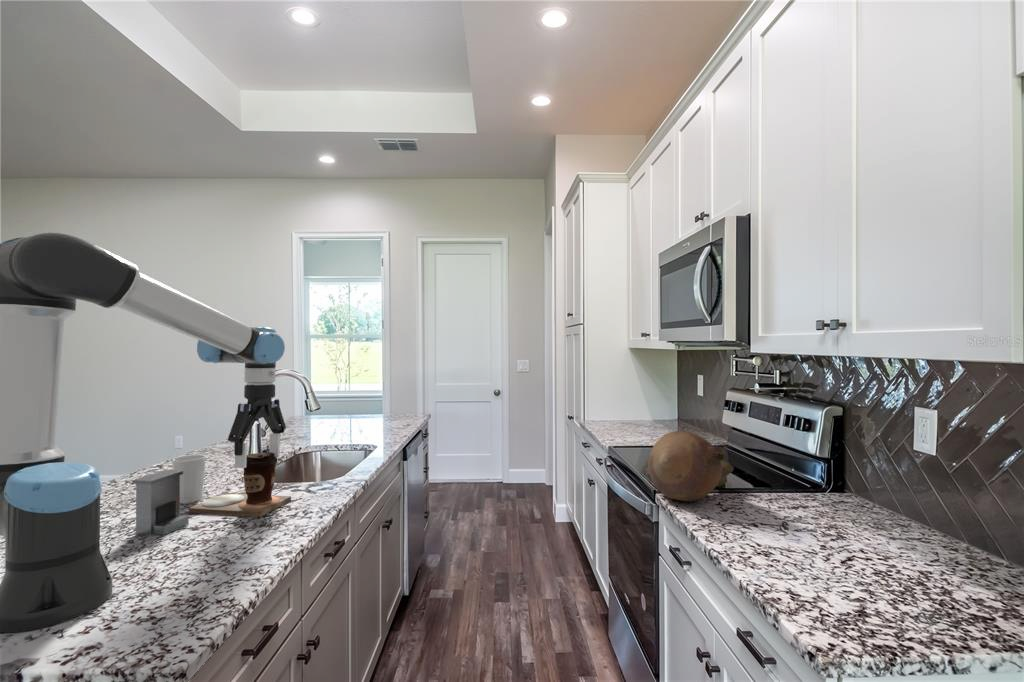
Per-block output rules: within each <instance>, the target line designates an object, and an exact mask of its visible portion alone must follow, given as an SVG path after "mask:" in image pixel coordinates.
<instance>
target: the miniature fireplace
mask: <svg viewBox="0 0 1024 682" xmlns="http://www.w3.org/2000/svg"><path fill="white" fill-rule="evenodd" d="M182 474H183V471H174V470H171V469H170V470H168V469H166V470H162V471H159V472H155V473H151V474H148V475H145V476H142V477H139V478H135V479H132V485H133V484H134V485H135V509H136V510H135V534H136V535H140V534H142V535H144V536H152V534H153V535H155V534H157V535H158V536H165V535H167V533H168V534H170V533H172V532H174V531H177V530H178V528H179V529H181V528H183V527H184V526H188V525H189V521H190V520H189V515H183V514H182V515H180V504H181V503H180V475H182ZM169 532H170V533H169ZM157 535H156V536H157Z"/></svg>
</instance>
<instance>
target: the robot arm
mask: <svg viewBox="0 0 1024 682" xmlns="http://www.w3.org/2000/svg"><path fill="white" fill-rule="evenodd" d="M77 300H80V301H85V302H87V303H92V304H94V305H98V306H100V307H102V308H105V309H111V308H115V307H117V308H120V309H123V310H124V311H127V312H129V313H132V314H135V315H136V316H139V317H141V318H144V319H147V320H149V321H150V322H151V321H152V322H153V323H156V324H158V325H161V326H163V327H165V328H169V329H171V330H173V331H176V332H178V333H181V334H183V335H185V336H188V337H190V338H193V339H195V340H197V343H196V344H197V345H196V352H197V355H198V357H199V359H200V360H201V361H202V362H204V363H211V364H212V363H214V364H218V363H220V364H221V363H222V364H223V363H225V364H226V363H229V364H231V363H232V364H233V363H234V364H244V377H243V378H244V381H243V382H244V384H245V385H244V388H243V389H244V390H243V391H244V393H243V397H244V398H245V399H247V402H246V403H238V405H237V411H236V415H235V418H234V421H233V424H232V426H231V429H230V431H229V434H228V437H227V441H228V442H230V443H233V444H234V468H237V469H238V468H239V469H244V468H246V462H247V455H248V454H247V453H248V441H245V440H246V439H247V437H248V435H249V434H250V432H251V429H252V428H253V426H254V424H255V423H256V421H258V420H259V419H261V418H263V420H264V421H265V423H266V425H267V426H268V427H269V430H270V431H271V433H269V444H268V445H269V448H268V449H269V451H268V452H270V453H274V454H275V457H276V458H279V457H280V449H281V434H284V433H285V430H286V429H287V427H286V422H285V420H284V417H283V413H282V410H281V406H280V399H279V398H278V399H276V398H275V396H276V385H275V382H276V366H277V365H276V364H277V362H278V361H279V360H281V359H282V357H283V355H284V354H285V351H286V350H285V347H286V345H285V342H284V339H283V338H282V337H281V336H280V335H279V334H277V331H276V330H275V329H274V328H272V327H263V326H261V327H258V326H250V325H248V324H246V323H243V322H241V321H239V320H237V319H236V318H232V316H229V315H228V314H225V313H222V312H221V311H219V310H217V309H215V308H212V307H211V306H208V305H206V304H204V303H203V302H200V301H198V300H196V299H194V298H192V297H190V296H188V295H186V294H184V293H182V292H180V291H179V290H176V289H173V288H172V287H170V286H169V285H166V284H163V283H162V282H160V281H157V280H156V279H153V278H151V277H149V276H147V275H146V274H143V273H141V272H140V271H139V267H138V266H137V264H134V263H133V262H132V261H129V260H128V259H125V258H122V257H121V256H119V255H117V254H116V253H112V252H111V251H109V250H108V249H105V248H103V247H101V246H98V245H96V244H95V243H91V242H90V241H87V240H85V239H83V238H79V237H77V236H74V235H71V234H68V233H67V234H66V233H60V232H43V233H37V234H34V235H31V236H26V237H23V236H22V237H16V238H11V239H8V240H4V241H2V242H1V243H0V536H2V537H5V540H4V541H5V543H4V545H5V546H4V547H5V550H4V551H5V552H4V553H5V559H4V560H5V562H4V563H5V564H4V565H5V567H4V570H5V571H4V575H3V577H2V579H1V582H0V633H19V632H26V631H33V630H37V629H43V628H46V627H50V626H54V625H57V624H60V623H63V622H66V621H68V620H71V619H74V618H76V617H79V616H82V615H84V614H85V613H88V612H90V611H91V610H94V609H95V608H97V607H99V606H100V605H102V604H103V603H105V602H106V601H107V600H108V599H109V598H110V597H111V596H112V594H113V577H112V574H110V571H109V569H108V567H107V563H106V561H105V560H104V557H103V555H102V553H101V546H100V545H101V544H100V542H101V541H100V538H101V494H102V484H101V478H100V472H99V470H98V469H97V468H96V467H94V465H93V466H92V465H90V464H87V463H83V462H68V461H65V460H66V459H65V458H66V456H65V454H66V453H65V452H64V451H63V450H61V449H60V448H59V447H57V445H56V433H57V431H56V429H57V418H58V417H57V416H58V407H59V406H58V405H59V404H58V403H59V393H60V391H59V390H60V380H61V379H60V377H61V365H62V364H61V363H62V353H63V351H62V349H63V348H62V347H63V338H64V325H65V321H66V319H68V318H69V317H71V316H72V315H74V314H75V313H76V308H77V307H76V306H77Z"/></svg>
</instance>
